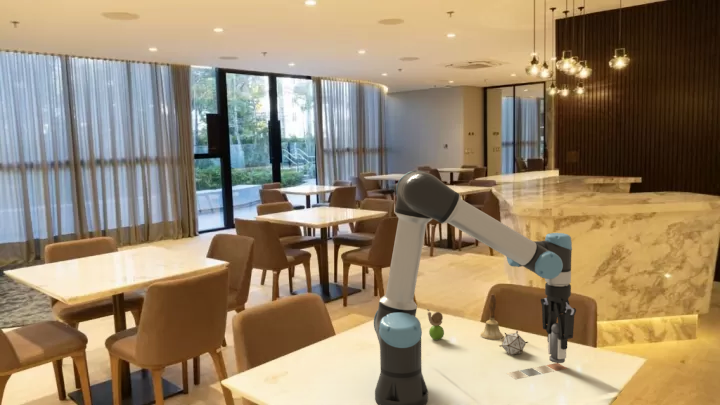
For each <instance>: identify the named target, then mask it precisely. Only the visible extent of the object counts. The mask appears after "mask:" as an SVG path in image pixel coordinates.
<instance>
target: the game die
mask: <svg viewBox="0 0 720 405" xmlns="http://www.w3.org/2000/svg"><path fill="white" fill-rule="evenodd" d="M518 333H519V331H518V330H516V332H514V333H508V334H507V333H506V332H504V335H505V336H504V337H503V341H502V343H501V345H500V344H499V347H502V348H503V350H504V351H505V352H506V353H508V355H510V356H512V355H519V354H522V353H523V351H524V348H525V347H526V344H528V343H529V341H526V340H525V339H524V338H523V337H521V336H520V334H518Z"/></svg>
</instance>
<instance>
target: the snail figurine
mask: <svg viewBox="0 0 720 405" xmlns="http://www.w3.org/2000/svg"><path fill="white" fill-rule="evenodd" d="M430 311H431V310H430V309H427V318H428V320H429V323H430V325H431V327H430V328H429V331H428V334H429V337H430V338H431V339H433V340H435V341H438V340H441V339H442V338H444V335H445V331H444V328H443V327H442V326H441V325H442V324H443V317H444V316H443V313H442V312H440V311H436V312H434V313H433V314H432V312H430Z"/></svg>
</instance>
